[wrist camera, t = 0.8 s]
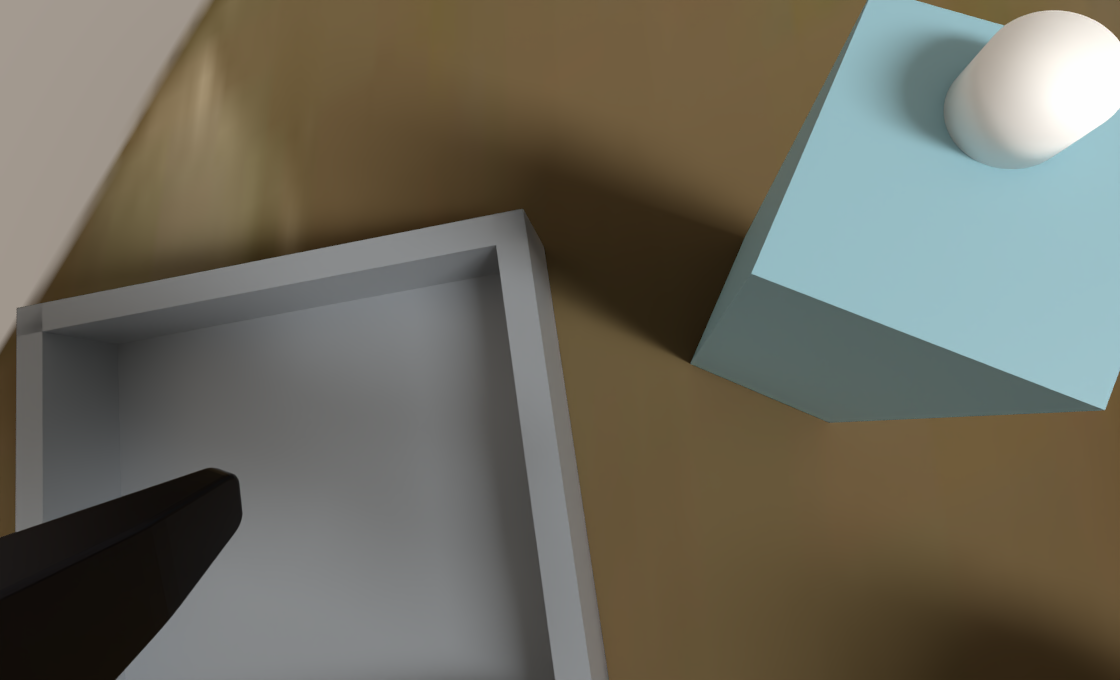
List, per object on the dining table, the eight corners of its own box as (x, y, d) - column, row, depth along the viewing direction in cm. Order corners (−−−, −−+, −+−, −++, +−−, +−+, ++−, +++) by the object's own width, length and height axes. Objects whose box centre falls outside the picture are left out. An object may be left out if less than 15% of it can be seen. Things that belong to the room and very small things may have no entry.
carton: (828, 422, 20) (1167, 406, 7) (690, 363, 21) (763, 254, 8) (883, 289, 21) (1298, 43, 8) (744, 237, 22) (899, -63, 9)
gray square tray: (617, 736, 20) (610, 811, 16) (126, 781, 22) (13, 858, 18) (544, 246, 23) (523, 208, 19) (116, 327, 25) (16, 308, 21)
